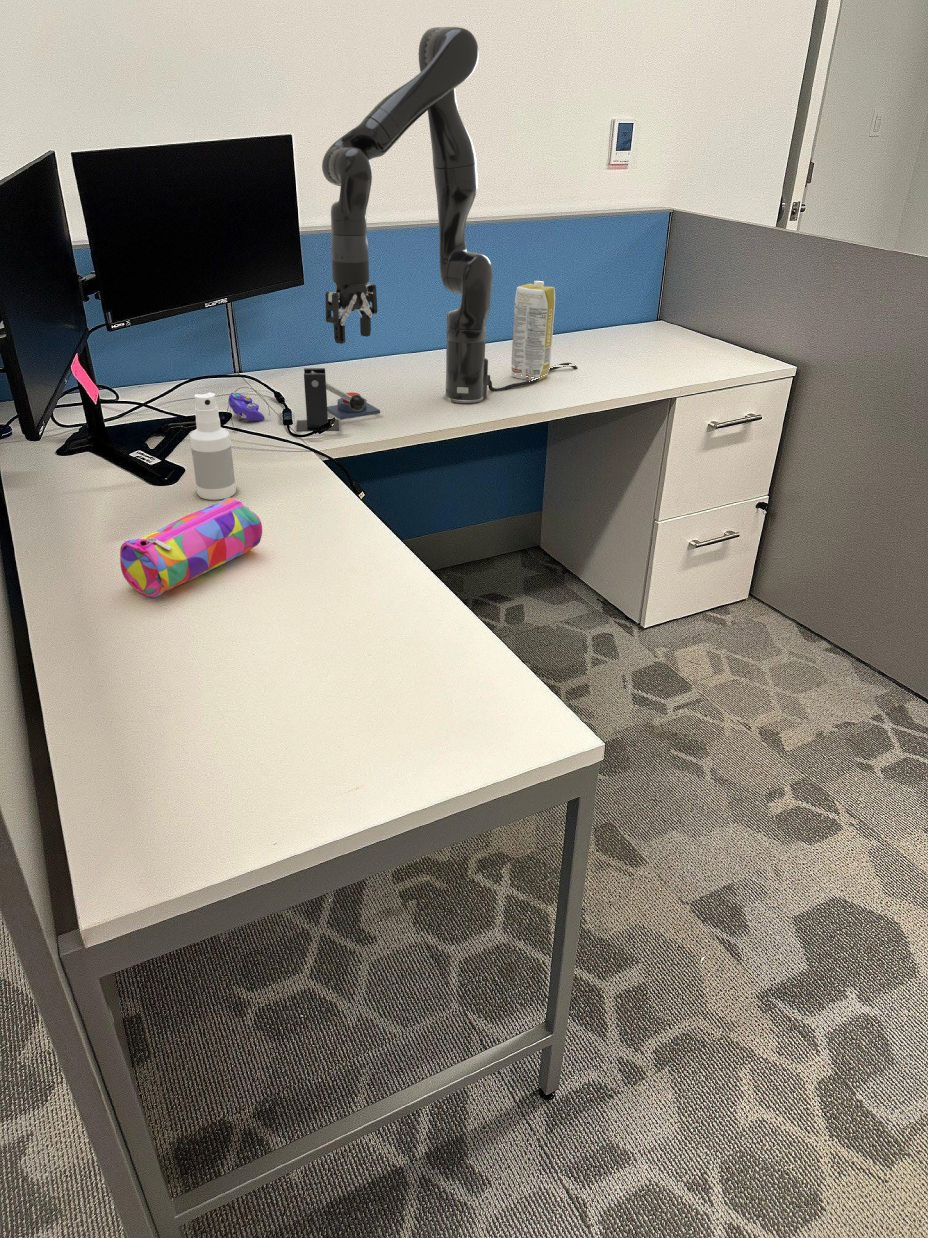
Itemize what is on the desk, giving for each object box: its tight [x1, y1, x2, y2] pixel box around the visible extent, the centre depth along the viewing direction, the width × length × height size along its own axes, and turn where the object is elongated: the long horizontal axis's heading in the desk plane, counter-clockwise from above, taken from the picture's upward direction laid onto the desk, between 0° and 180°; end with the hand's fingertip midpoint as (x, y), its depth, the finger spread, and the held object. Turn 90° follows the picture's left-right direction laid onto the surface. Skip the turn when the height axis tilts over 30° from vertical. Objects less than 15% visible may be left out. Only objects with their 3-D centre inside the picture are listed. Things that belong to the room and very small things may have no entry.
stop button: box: [344, 391, 361, 403], centre depth 196 cm, size 4×4×2 cm
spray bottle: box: [189, 392, 237, 501], centre depth 153 cm, size 7×7×18 cm
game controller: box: [221, 386, 271, 428], centre depth 191 cm, size 10×8×10 cm
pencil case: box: [119, 497, 263, 598], centre depth 129 cm, size 22×9×9 cm, turn 148°
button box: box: [327, 397, 381, 421], centre depth 197 cm, size 10×8×4 cm
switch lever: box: [311, 371, 365, 411], centre depth 185 cm, size 13×3×3 cm
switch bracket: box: [295, 367, 340, 433], centre depth 185 cm, size 9×7×13 cm
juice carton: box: [510, 280, 556, 382], centre depth 224 cm, size 9×8×24 cm
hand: (353, 339), depth 184 cm, fingers open, 8 cm apart
